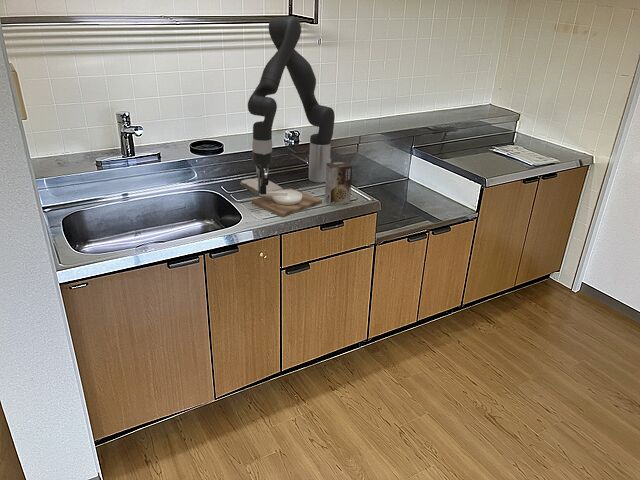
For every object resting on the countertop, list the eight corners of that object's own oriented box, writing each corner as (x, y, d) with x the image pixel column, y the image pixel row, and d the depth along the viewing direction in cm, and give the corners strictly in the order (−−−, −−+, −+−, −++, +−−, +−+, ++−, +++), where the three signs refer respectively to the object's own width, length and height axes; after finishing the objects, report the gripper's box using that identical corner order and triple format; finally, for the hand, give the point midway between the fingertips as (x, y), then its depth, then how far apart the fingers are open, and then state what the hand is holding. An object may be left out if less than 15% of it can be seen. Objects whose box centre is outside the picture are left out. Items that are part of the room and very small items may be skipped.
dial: (299, 193, 215) (300, 174, 212) (304, 204, 205) (305, 184, 201) (257, 194, 212) (256, 175, 208) (259, 205, 201) (259, 185, 198)
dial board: (290, 191, 222) (290, 187, 222) (321, 203, 212) (322, 199, 211) (251, 203, 207) (251, 199, 207) (283, 217, 197) (283, 213, 196)
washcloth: (261, 181, 234) (261, 174, 233) (284, 193, 222) (284, 186, 220) (238, 185, 227) (238, 178, 226) (260, 198, 215) (260, 191, 213)
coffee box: (344, 198, 218) (346, 161, 211) (350, 203, 213) (353, 165, 206) (323, 200, 215) (326, 162, 208) (329, 205, 210) (332, 167, 203)
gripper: (248, 145, 202) (249, 186, 210) (256, 156, 191) (256, 199, 198) (267, 144, 205) (267, 185, 212) (276, 155, 193) (275, 198, 201)
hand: (262, 192), depth 205 cm, fingers closed on dial, 3 cm apart
